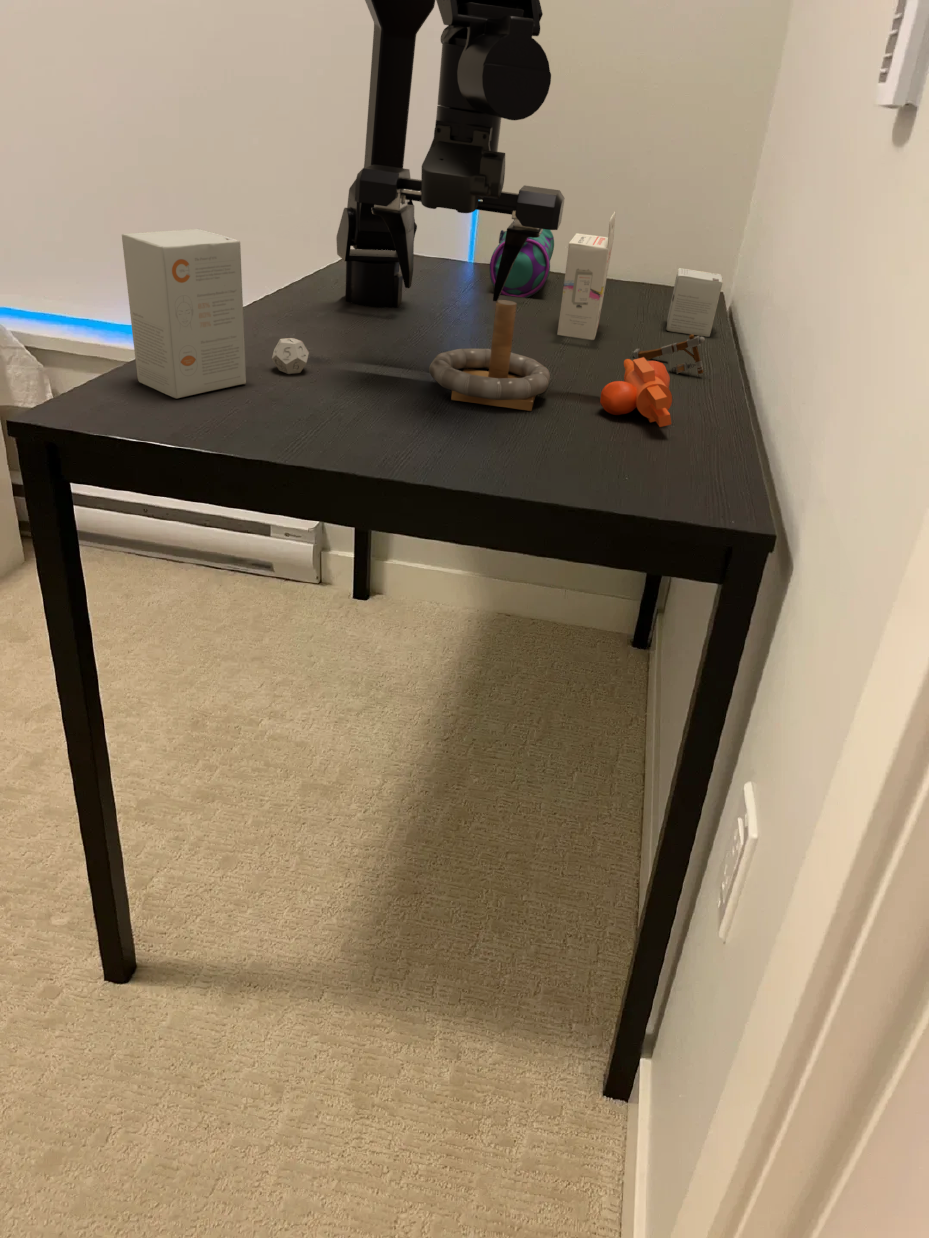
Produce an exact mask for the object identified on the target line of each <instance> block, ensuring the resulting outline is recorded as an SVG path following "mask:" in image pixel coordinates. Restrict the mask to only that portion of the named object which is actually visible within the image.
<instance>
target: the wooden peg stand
mask: <svg viewBox="0 0 929 1238" xmlns="http://www.w3.org/2000/svg"><path fill="white" fill-rule="evenodd" d="M517 306H518V303H517V302H515V301H512V300H509V299H507V300H505V299H498V300H497V301H495V310H494V317H493V318H494V319H493V328H492V337H491V346H490V349H491V354H490V363H489V369H488V371H487V370H480V369H475V368H467V369H462V372H465V373H468V374H471V375H477V376H485V377H492V378H523V377H522V376H519V375H516V374H511V373H510V372H509V364H510V356H511V352H512V347H513V340H514V339H513V338H514V330H515V323H516V314H517ZM509 373H510V374H509ZM450 396H451V398H450V400H451V401H457V402H465V403H472V404H478V405H486V406H491V407H500V408H505V409H506V408H507V409H512V410H513V409H514V410H520V411H526V412H527V411H528V412H532V410H533V407H534V402H535V400H536V397H537V395H535V396H532V397H529V398H526V399H511V400H494V399H486V398H479V397H472V396H467V395H464V394H461V393H458V392H455V391H452V390H451V395H450Z"/></svg>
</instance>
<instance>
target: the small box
mask: <svg viewBox="0 0 929 1238" xmlns="http://www.w3.org/2000/svg"><path fill="white" fill-rule="evenodd" d="M121 241H122V251H123V259H124V269H125V278H126V286H127V288H126V289H127V295H128V297H127V298H128V305H129V314H130V324H131V332H132V333H131V334H132V342H133V350H134V351H133V352H134V358H135V368H136V376H137V380H138V383H140V384H143V385H144V386H147V387H149V388H151V389H153V390H156V391H158V392H160V393H162V394H165V395H166V396H169V397H170V398H173V399H180V398H185V397H189V396H193V395H194V396H195V395H198V394H202V393H207V392H213V391H217V390H221V389H225V388H230V387H235V386H240V385H245V384H247V372H246V371H247V370H246V346H245V345H246V344H245V324H244V323H245V321H244V320H245V319H244V302H243V298H244V297H243V276H242V275H243V273H242V253H241V251H242V249H241V241H240V240H238V239H235V238H234V237H230V236H226V235H224V234H221V233H217V232H212V231H209V230H205V229H200V228H191V229H174V230H162V231H161V230H160V231H148V232H147V231H146V232H133V233H122V234H121Z"/></svg>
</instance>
